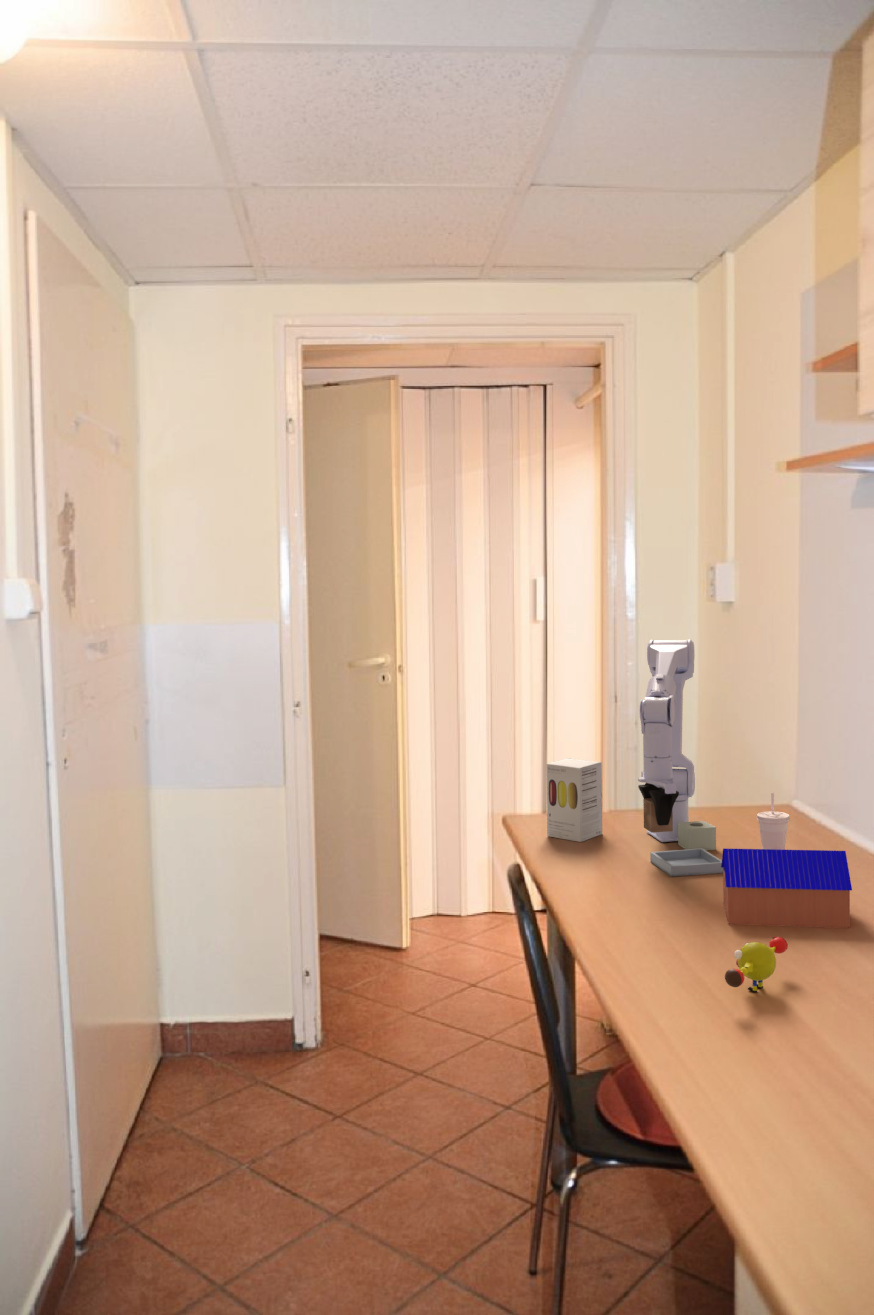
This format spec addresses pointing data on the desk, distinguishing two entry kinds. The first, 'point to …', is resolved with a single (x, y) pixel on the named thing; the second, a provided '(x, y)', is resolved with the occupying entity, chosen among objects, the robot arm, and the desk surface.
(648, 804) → the block
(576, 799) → the supplement box
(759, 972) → the toy figure
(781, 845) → the smoothie
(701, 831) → the oversize block
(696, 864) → the tray
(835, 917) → the house
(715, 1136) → the desk surface
